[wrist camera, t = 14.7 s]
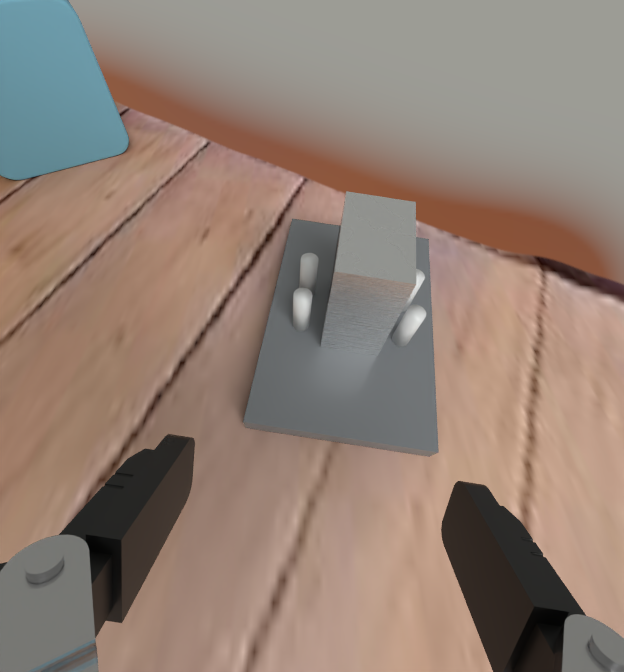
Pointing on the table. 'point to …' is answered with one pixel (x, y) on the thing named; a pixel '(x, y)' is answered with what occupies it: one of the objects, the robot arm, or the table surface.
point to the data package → (51, 93)
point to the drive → (370, 272)
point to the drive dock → (343, 360)
